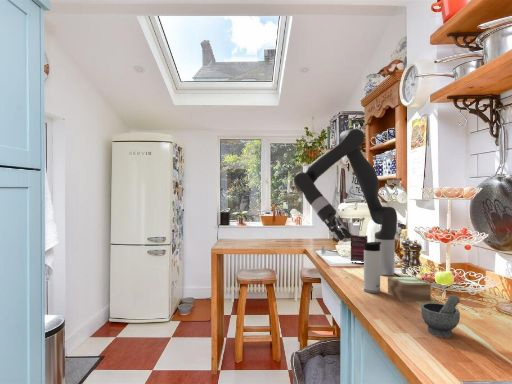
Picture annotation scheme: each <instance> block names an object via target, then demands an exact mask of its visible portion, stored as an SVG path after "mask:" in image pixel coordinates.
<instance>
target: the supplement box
mask: <svg viewBox="0 0 512 384" xmlns="http://www.w3.org/2000/svg"><path fill="white" fill-rule="evenodd" d="M351 235H352V236H351V237H350V262H351V261H361V262H364V244H365V243H368V242H369V241H368V235H363V234H362V235H361V234H359V235H358V234H351Z"/></svg>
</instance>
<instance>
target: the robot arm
mask: <svg viewBox="0 0 512 384" xmlns="http://www.w3.org/2000/svg"><path fill="white" fill-rule="evenodd" d="M338 141H339V143H338V144H337V145H336V146H334V147H333V148H331V149H330V150H328V151H326V152H325V153H324V154H323V153H322V154H321V155H320V156H319V157H318V158H316V160H315V159H314V161H313V162H312V163H310V165H309V166H308V167H307V170H306V171H305V172H304V171H299V172H297V173H295V175H294V177H293V182H294V185H295V189H296V190H298V191H299V192H302V194H303V195H304V198H305V199H306V201H307V202H308V204H309V205H310V206H311V208H312V210H313V211H314V212H315V214H316V215H317V216H318V218H319V219H320V220H321V222H323V223H324V224H325V225H326V227H327V228H328V229H329V231H330V232H331V233H333V234H335V235H336V236H337V237H338V238H339V240H340V241H343V240H344V239H345V238H346V239H347V240H348V239H349V240H350V239H351V236H352V235H353V234H351V232H349V230H348V226H347V224H345V222H344V221H343V220H342V219H341V217H340V216H338V217H337V216H336V214H337V210H336V209H335V208H334V206H333V205H332V204H331V202H329V199H327V198H326V197H325V196H324V195H323V194H322V193H321V191H320V190H319V189H318V187H317V186H316V184H315V183H316V182H317V180H318V179H319V178H320V177H321V176H322V175H323V174H325V172H327V171H328V170H329V169H330V168H332V166H334V165H335V164H336V163H337V162H339V161H340V160H341V159H342V158H344V157H345V156H346V158H347V159H348V162H349V163H350V165H351V168H352V171H353V173H354V175H355V178H356V180H357V182H358V186H359V187H360V189H361V191H362V193H363V197H364V199H365V202H366V204H367V208H368V212H369V215H370V218H371V220H372V222H373V223H375V224H376V225H381V226H380V227H381V229H380V230H379V231H376V232H375V233H374V242H381V244H380V276H394V275H395V274H396V273H395V269H396V268H395V267H396V266H395V252H396V251H395V249H396V248H395V245H396V244H395V243H396V242H395V241H396V238H395V236H396V235H397V227H398V214H397V211H396V209H395V207H392V206H384V205H382V204H381V201H380V198H379V193H378V192H379V187H380V181H379V177H378V175H377V173H376V170H375V168H374V166H372V164H371V163H370V162H369V160H367V158H366V157H365V156H364V155H363V153H362V151H361V148H360V147H361V146H362V145H363V144H364V142H365V134H364V132H363V131H362V130H360V129H358V128H351V129H350V128H349V129H345V130H343V131H342V132H341V133H340V134H339V137H338ZM394 273H395V274H394Z"/></svg>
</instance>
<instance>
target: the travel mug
mask: <svg viewBox="0 0 512 384" xmlns="http://www.w3.org/2000/svg"><path fill="white" fill-rule="evenodd" d="M367 242H368V243H365V244H364V264H363V291H364V292H365V293H369V294H379V293H380V292H381V275H380V244H381V242H375V241H367Z"/></svg>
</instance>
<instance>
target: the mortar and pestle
mask: <svg viewBox="0 0 512 384" xmlns="http://www.w3.org/2000/svg"><path fill="white" fill-rule="evenodd" d="M459 303H461V301H460V298H459V297H458V295H457V296H456V295H455V294H449V295H448V296H447V299H446V302H445V303H444V304H443V303H440V302H426V303H421V304H420V310H421V317H422V320H423V321H424V323H425V325H427V333H429V334H431V335H432V336H435V337H440V338H450V337H453V331H452V330H454V329H455V328H457V326H458V325H459V323H460V318H461V316H460V315H461V313H460V310H459V308H457V306H458V304H459Z"/></svg>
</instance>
